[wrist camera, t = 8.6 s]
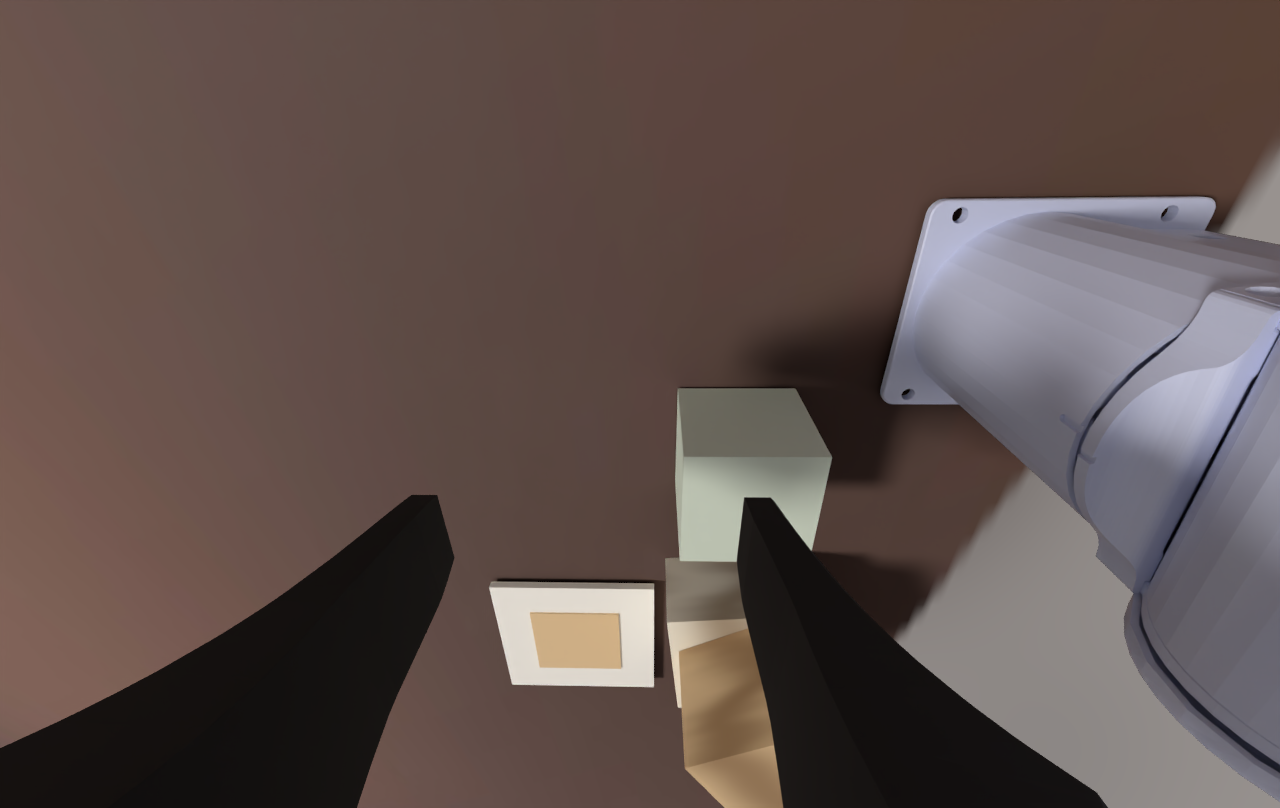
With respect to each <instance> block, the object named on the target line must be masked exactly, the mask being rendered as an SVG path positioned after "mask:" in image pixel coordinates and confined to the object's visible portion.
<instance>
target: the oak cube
mask: <svg viewBox="0 0 1280 808" xmlns="http://www.w3.org/2000/svg"><path fill="white" fill-rule="evenodd" d="M679 666H680V685H681V704H682V723H683V742H684V761H685V769H686V770H687V771H688V772H689V773H690V774H691V775H692V776H693V777H694V778H695V779H696V780H697V781H698V782H699V783H700V784H701V785H702V786H703V787H704V788H705V789H706V790H707V791H708V792H709V793H710V794H711V795H712V796H713V797H714V798H715V799H716V800H717V801H718V802H719V803H720V804H721V805H722V806H724V807H725V808H783V803H782V796H781V789H780V782H779V775H778V768H777V762H776V755H775V749H774V742H773V736H772V729H771V723H770V718H769V713H768V708H767V704H766V699H765V695H764V691H763V687H762V683H761V679H760V675H759V671H758V666H757V662H756V658H755V654H754V650H753V646H752V642H751V638H750V634H749V630H748V629H745V630H742V631H739V632H736V633H733V634H730V635H727V636H724V637H721V638H718V639H715V640H712V641H709V642H706V643H703V644H700V645H697V646H694V647H691V648H688V649H685V650H682V651H679Z"/></svg>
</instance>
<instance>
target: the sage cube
mask: <svg viewBox="0 0 1280 808" xmlns="http://www.w3.org/2000/svg"><path fill="white" fill-rule="evenodd" d="M831 461H832V456H831V454H830V452H829V451H828V449H827V447H826V445H825V443H824V441H823V439H822V437H821V436H820V434H819V432H818V430H817V428H816V426H815V424H814V422H813V421H812V419H811V417H810V415H809V413H808V411H807V409H806V407H805V406H804V404H803V402H802V400H801V398H800V396H799V394H798V392H797V391H796V389H795V388H678V401H677V437H676V473H675V485H676V502H677V520H678V538H679V555H680V561H714V562H737V553H738V545H739V536H740V528H741V519H742V511H743V503H744V497H771V498H772V499H773V500H774V501H775V503H776V504H777V505H778V507H779V508H780V510H781V511H782V513H783V514H784V515H785V517H786V518H787V519H788V521H789V522H790V524H791V525H792V526H793V528H794V529H795V530H796V532H797V533H798V534H799V535H800V537H801V538H802V539H803V541H804V542H805V543H806V545H807V546H808V547H809V548H810V550H811V551H812V547H813V542H814V537H815V533H816V528H817V524H818V519H819V515H820V510H821V506H822V501H823V497H824V492H825V488H826V483H827V479H828V474H829V470H830V465H831Z"/></svg>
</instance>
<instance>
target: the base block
mask: <svg viewBox="0 0 1280 808" xmlns="http://www.w3.org/2000/svg"><path fill="white" fill-rule="evenodd" d="M665 561H666V602H667V626H668V634H669V642H670V650H671V657H672V665H673V673H674V681H675V688H676V696H677V704H678V708H679V707H682V704H681V685H680V666H679V651H682V650H685V649H688V648H691V647H694V646H697V645H700V644H703V643H706V642H709V641H712V640H715V639H718V638H721V637H724V636H727V635H730V634H733V633H736V632H739V631H742V630H745V629H748V626H747V622H746V617H745V613H744V609H743V605H742V599H741V592H740V584H739V576H738V568H737V562H714V561H680V558H665Z"/></svg>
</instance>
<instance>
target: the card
mask: <svg viewBox="0 0 1280 808" xmlns="http://www.w3.org/2000/svg"><path fill="white" fill-rule="evenodd" d="M489 589H490V593H491V597H492V601H493V605H494V610H495V614H496V618H497V622H498V626H499V631H500V635H501V639H502V643H503V647H504V652H505V656H506V660H507V664H508V668H509V673H510V677H511V681H512V685H569V686H625V687H654V583H574V582H491V584H490V587H489Z"/></svg>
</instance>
